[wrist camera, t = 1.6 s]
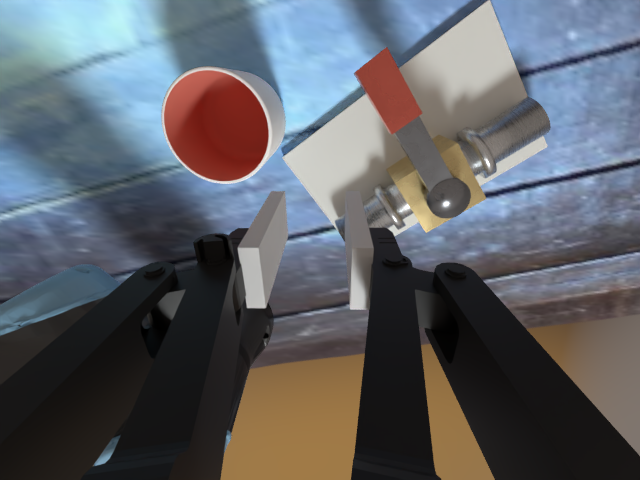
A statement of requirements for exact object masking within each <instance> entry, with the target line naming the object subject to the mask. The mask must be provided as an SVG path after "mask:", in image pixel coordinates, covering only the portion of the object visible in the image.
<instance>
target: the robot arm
mask: <svg viewBox="0 0 640 480" xmlns="http://www.w3.org/2000/svg"><path fill="white" fill-rule="evenodd" d="M287 238H288V228H287V214H286V200H285V191H271V193H270V194H269V196H268V198H267V199H266V201H265V203H264V204H263V206H262V208H261V209H260V211H259V213H258V214H257V216H256V218H255V219H254V221H253V223H252V224H251V226H250V228H238V229H236V230H235V231H233V232H231V233H230V235H229V236H228V235H226V234H209V235H205V236H202V237H200V238H198V239H196V240H195V241H194V242H193V243H194V248H195V252H196V256H197V261H198V263H197V266H196V268H195V269H193V270H188V271H182V272H176V270H175V267H174V265H173V264H171V263H168V262H155V263H151V264H149V265H147V266H144V267H142V268H141V269H139V270H138V271H136V272H135V273H134V274H133V275H131V276H130V277H129V278H128V279H127V280H125V281H124V282H123V283H122V284H120V283H119V282H118V281H117V280H115V279H114V278H113V277H111V276H110V275H109V274H107V273H106V272H105V271H104V270H102V269H101V268H99V267H97V266H94V265H78V266H75V267H72V268H69V269H67V270H65V271H63V272H61V273H59V274H57V275H55V276H53V277H51V278H49V279H47V280H45V281H43V282H41V283H39V284H37V285H35V286H34V287H32V288H30V289H28V290H26V291H24V292H23V293H21V294H19V295H17V296H15V297H14V298H12V299H10V300H8V301H7V302H5V303H3V304H1V305H0V480H220V478H221V470H222V464H223V457H224V452H225V450H226V447H227V444H228V443H229V442H230V439H231V432H232V429H233V425H234V422H235V418H236V414H237V411H238V408H239V404H240V400H241V397H242V394H243V390H244V387H245V383H246V380H247V376H248V373H249V369H250V367H251V366H252V364H253V363H254V362H255V360H256V359H257V358H258V357H259V355H260V354H261V353H262V351H263V350H264V349H265V347H266V346H267V344H268V342H269V340H270V337H271V333H272V329H273V322H274V321H273V315H272V312H271V309H270V307H269V305H268V304H267V303H268V300H269V297H270V293H271V290H272V287H273V284H274V280H275V277H276V274H277V271H278V267H279V264H280V261H281V257H282V254H283V251H284V248H285V244H286V241H287ZM345 247H346V261H347V274H348V288H349V301H350V309H361V310H369V319H368V329H367V338H366V348H365V358H364V368H363V377H362V387H361V397H360V407H359V416H358V426H357V436H356V446H355V454H354V459H353V467H352V476H351V480H441V478H440V477H438V476H437V475H436V472H435V468H434V461H433V452H432V443H431V434H430V424H429V415H428V406H427V397H426V388H425V379H424V369H423V362H422V361H423V360H422V351H421V342H420V333H419V326H420V327H424V328H425V333H426V335H427V337H428V339H429V341H430V343H431V345H432V347H433V349H434V352H435V354H436V356H437V358H438V360H439V362H440V364H441V366H442V368H443V371H444V372H445V375H446V377H447V379H448V381H449V383H450V385H451V387H452V390H453V392H454V394H455V396H456V398H457V400H458V402H459V404H460V407H461V409H462V411H463V413H464V415H465V417H466V419H467V421H468V424H469V426H470V428H471V430H472V432H473V434H474V436H475V438H476V441H477V443H478V445H479V447H480V449H481V451H482V453H483V455H484V457H485V460H486V462H487V464H488V466H489V468H490V470H491V472H492V474H493V476H494V478H495V480H640V456H639V455H638V454H637V452H636V451H635V450H634V449H633V448H632V447H631V446H630V445H629V444H628V442H627V441H626V440H625V439H624V438H623V437H622V436H621V435H620V433H619V432H618V431H617V430H616V429H615V428H614V427H613V426H612V425H611V423H610V422H609V421H608V420H607V419H606V418H605V417H604V416H603V415H602V413H601V412H600V411H599V410H598V409H597V408H596V407H595V405H594V404H593V403H592V402H591V401H590V400H589V399H588V398H587V397H586V396H585V394H584V393H583V392H582V391H581V390H580V389H579V388H578V387H577V385H576V384H575V383H574V382H573V381H572V380H571V379H570V378H569V377H568V375H567V374H566V373H565V372H564V371H563V370H562V369H561V368H560V366H559V365H558V364H557V363H556V362H555V361H554V360H553V359H552V358H551V356H550V355H549V354H548V353H547V352H546V351H545V350H544V349H543V347H542V346H541V345H540V344H539V343H538V342H537V341H536V340H535V338H534V337H533V336H532V335H531V334H530V333H529V332H528V331H527V330H526V328H525V327H524V326H523V325H522V324H521V323H520V322H519V321H518V320H517V318H516V317H515V316H514V315H513V314H512V313H511V312H510V311H509V309H508V308H507V307H506V306H505V305H504V304H503V303H502V302H501V301H500V299H499V298H498V297H497V296H496V295H495V294H494V293H493V292H492V290H491V289H490V288H489V287H488V286H487V285H486V284H485V283H484V282H483V280H482V279H481V278H480V277H479V276H478V275H477V274H476V273H475V272H474V271H473V270H472V269H470V268H469V267H466V266H464V265H462V264H458V263H441V264H439V265H437V266H436V268H435V272H434V273H433V272H428V271H423V270H419V269H416V268H413V267H412V263H411V261H410V259H408V258H407V257H406V256H403V255H402V254H401V252H400V249H399V247H398V244H397V242H396V239H395V237H394V234H393V232H392V231H390V230H389V229H387V228H369V227H368V223H367V219H366V215H365V211H364V207H363V203H362V199H361V195H360V191H346V197H345ZM93 465H94V466H93Z"/></svg>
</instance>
